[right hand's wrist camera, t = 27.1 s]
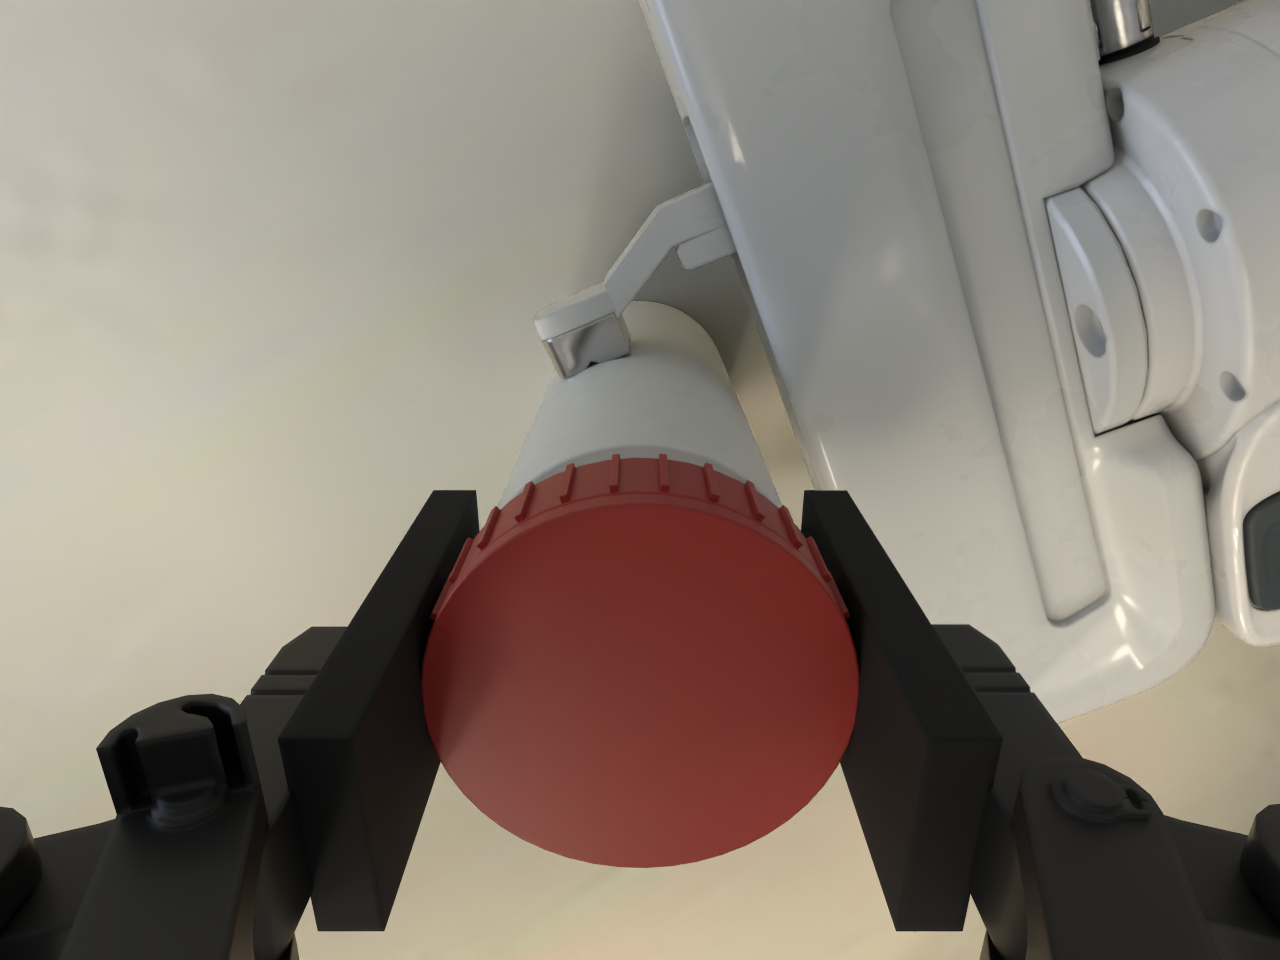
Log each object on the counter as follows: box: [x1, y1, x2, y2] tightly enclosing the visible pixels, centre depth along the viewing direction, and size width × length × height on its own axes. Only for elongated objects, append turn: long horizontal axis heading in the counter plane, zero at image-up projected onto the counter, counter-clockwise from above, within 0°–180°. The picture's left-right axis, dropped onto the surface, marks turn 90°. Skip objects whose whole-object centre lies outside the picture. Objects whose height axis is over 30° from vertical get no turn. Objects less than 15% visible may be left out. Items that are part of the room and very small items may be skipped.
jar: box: [498, 301, 782, 509], centre depth 19 cm, size 6×6×15 cm
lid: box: [421, 454, 860, 868], centre depth 11 cm, size 6×6×2 cm
